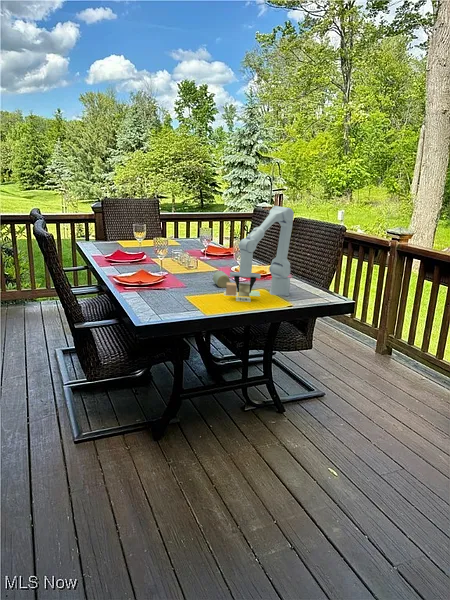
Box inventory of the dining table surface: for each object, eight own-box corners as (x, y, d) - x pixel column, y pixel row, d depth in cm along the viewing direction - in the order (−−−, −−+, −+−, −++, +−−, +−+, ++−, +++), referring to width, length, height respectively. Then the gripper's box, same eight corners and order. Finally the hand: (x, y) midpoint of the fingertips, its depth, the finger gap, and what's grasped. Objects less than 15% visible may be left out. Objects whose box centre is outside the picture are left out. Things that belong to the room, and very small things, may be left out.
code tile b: (237, 292, 221) (237, 292, 220) (237, 296, 214) (238, 296, 214) (224, 291, 221) (224, 291, 220) (223, 295, 214) (223, 295, 214)
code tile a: (250, 298, 213) (250, 297, 213) (250, 302, 206) (250, 301, 206) (235, 297, 213) (236, 296, 213) (236, 301, 206) (236, 300, 206)
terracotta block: (235, 292, 219) (236, 283, 218) (236, 295, 215) (236, 285, 213) (226, 291, 219) (226, 282, 218) (225, 294, 215) (226, 284, 213)
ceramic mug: (217, 288, 225) (218, 274, 223) (212, 284, 232) (213, 270, 230) (236, 288, 229) (237, 274, 227) (230, 284, 236) (231, 270, 234)
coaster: (259, 292, 224) (259, 291, 224) (260, 297, 216) (260, 296, 216) (241, 290, 224) (241, 290, 224) (241, 295, 216) (242, 295, 216)
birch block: (248, 293, 211) (249, 283, 210) (249, 296, 206) (249, 286, 205) (238, 292, 211) (239, 283, 210) (238, 295, 206) (239, 285, 205)
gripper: (230, 265, 201) (228, 293, 205) (261, 267, 201) (259, 295, 205) (230, 262, 207) (228, 289, 211) (261, 263, 207) (258, 291, 211)
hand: (243, 292), depth 208 cm, fingers closed on birch block, 5 cm apart
